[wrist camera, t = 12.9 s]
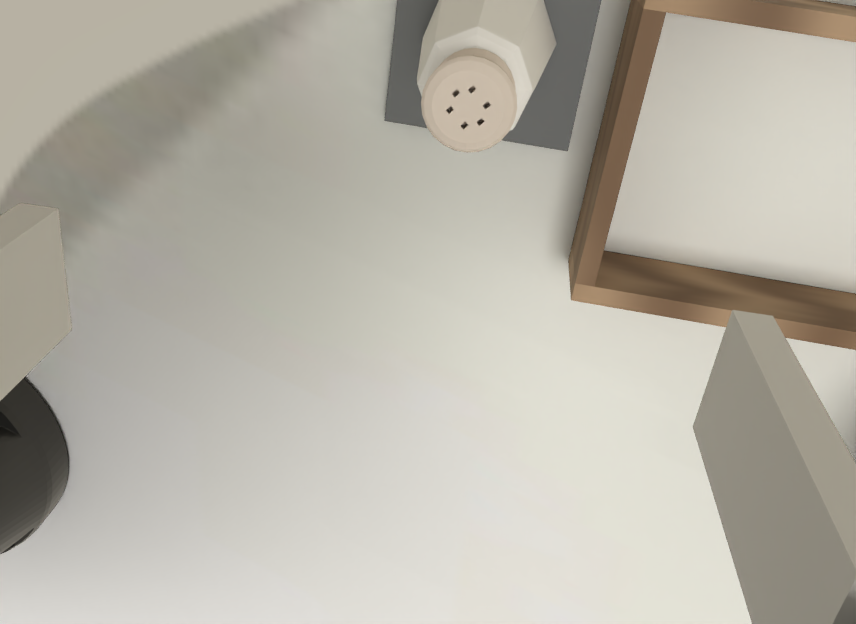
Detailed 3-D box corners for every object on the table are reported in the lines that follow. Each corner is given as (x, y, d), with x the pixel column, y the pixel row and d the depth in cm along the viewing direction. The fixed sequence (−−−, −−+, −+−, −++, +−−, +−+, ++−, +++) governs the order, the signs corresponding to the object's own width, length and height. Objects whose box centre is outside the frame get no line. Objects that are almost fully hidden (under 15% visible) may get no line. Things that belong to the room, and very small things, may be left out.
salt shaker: (584, 44, 33) (602, 115, 23) (483, 132, 35) (462, 230, 25) (495, -64, 31) (475, -37, 22) (396, 35, 33) (337, 100, 24)
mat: (387, 117, 36) (384, 120, 35) (408, -84, 32) (406, -83, 31) (567, 147, 35) (567, 151, 35) (611, -52, 31) (612, -51, 31)
